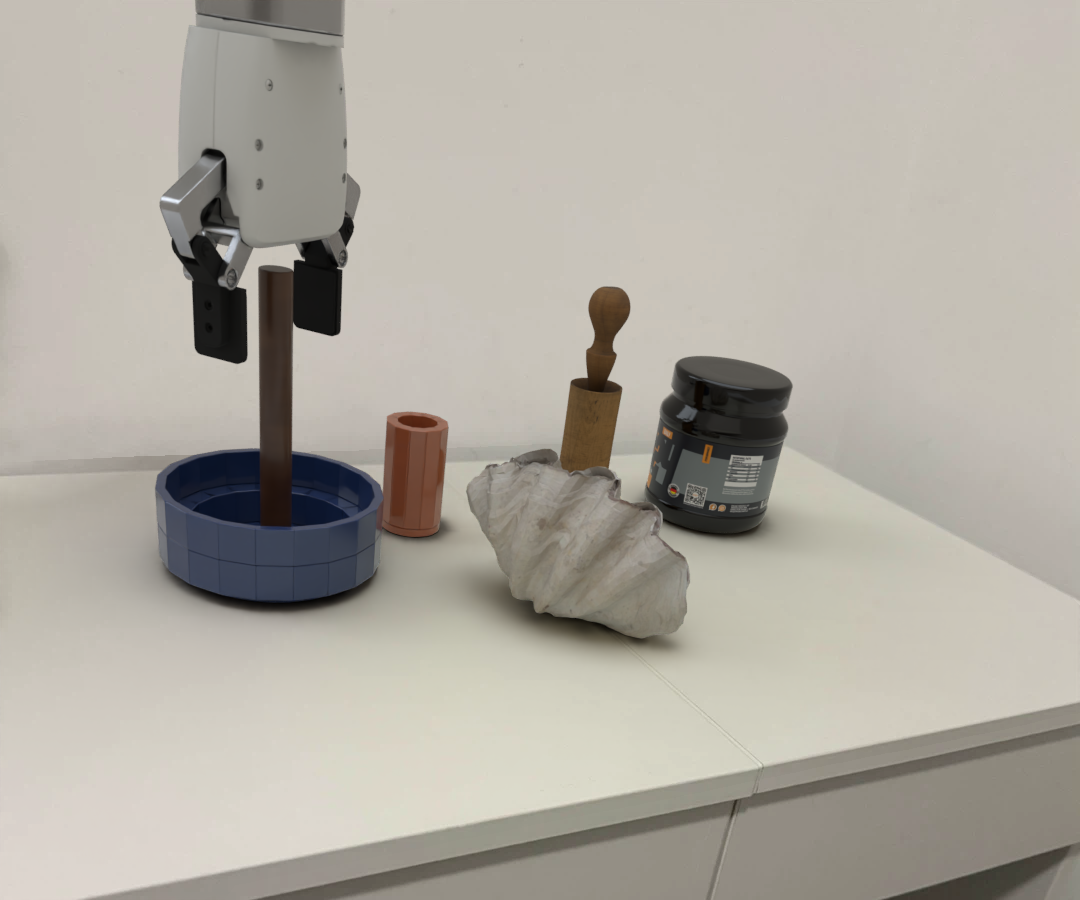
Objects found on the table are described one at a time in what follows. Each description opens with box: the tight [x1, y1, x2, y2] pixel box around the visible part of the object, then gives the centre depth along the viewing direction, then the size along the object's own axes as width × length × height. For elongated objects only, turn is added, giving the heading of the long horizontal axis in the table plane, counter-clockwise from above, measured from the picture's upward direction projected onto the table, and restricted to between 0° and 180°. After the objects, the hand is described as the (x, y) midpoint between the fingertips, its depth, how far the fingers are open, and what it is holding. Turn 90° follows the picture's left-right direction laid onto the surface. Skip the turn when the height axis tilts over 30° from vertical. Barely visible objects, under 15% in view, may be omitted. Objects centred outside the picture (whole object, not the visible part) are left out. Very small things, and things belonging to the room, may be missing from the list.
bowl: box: [154, 447, 384, 604], centre depth 70 cm, size 14×14×6 cm
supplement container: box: [644, 355, 794, 535], centre depth 88 cm, size 10×10×12 cm
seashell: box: [465, 448, 691, 639], centre depth 69 cm, size 10×15×10 cm
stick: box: [257, 264, 294, 527], centre depth 66 cm, size 2×2×18 cm
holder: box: [382, 411, 450, 538], centre depth 78 cm, size 4×4×8 cm
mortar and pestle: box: [559, 285, 631, 473], centre depth 80 cm, size 7×6×18 cm
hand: (271, 343), depth 64 cm, fingers open, 9 cm apart
